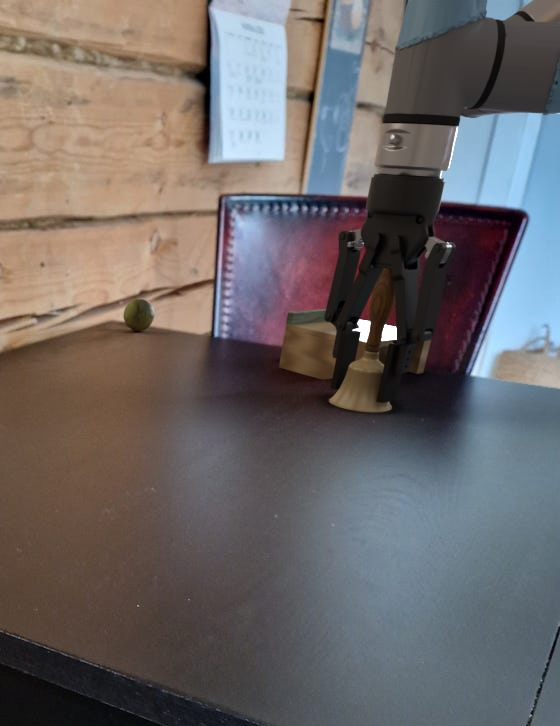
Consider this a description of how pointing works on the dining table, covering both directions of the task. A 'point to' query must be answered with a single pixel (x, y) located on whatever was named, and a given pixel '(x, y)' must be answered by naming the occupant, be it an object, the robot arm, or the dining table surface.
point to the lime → (138, 315)
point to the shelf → (331, 345)
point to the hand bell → (369, 355)
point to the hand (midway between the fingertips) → (362, 393)
